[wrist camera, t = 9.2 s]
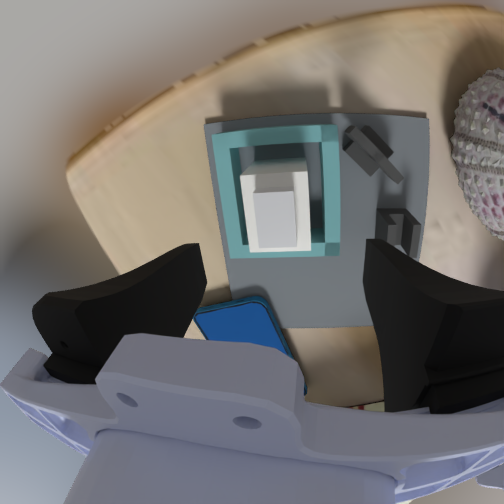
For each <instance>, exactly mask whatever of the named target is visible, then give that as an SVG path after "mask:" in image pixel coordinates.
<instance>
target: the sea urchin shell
mask: <svg viewBox="0 0 504 504" xmlns="http://www.w3.org/2000/svg"><path fill="white" fill-rule="evenodd" d="M461 96H462V98H461V99H459V107H458V108H457V109H456V110H455V114H456V118H455V120H454V121H453V122H454V125H455V133H454V135H453V136H452V137H451V139H450V140H451V142H452V144H453V147H454V149H453V152H452V155H451V156H452V157H453V159H454V160H455V161H456V165H457V169H456V172H455V173H456V175H457V176H458V179H459V184H458V185H459V186H460V188H461V189H462V190H463V192H464V198H465V199H466V202H467V203H468V204H469V207H470V208H471V209H472V212H473V214H475V215H476V216H477V217H478V219H481V221H482V224H484V225H486V230H489V231H490V232H491V234H492V236H497V237H498V238H499V239H502V240H503V241H504V70H501V69H500V68H499V67H498V68H497V69H496V70H495V69H494V70H493V71H492V70H488V69H487V71H486V73H485V74H483V76H482V78H480V77H479V78H478V79H477V81H473V82H472V84H468V91H466V92H465V94H463V95H461Z"/></svg>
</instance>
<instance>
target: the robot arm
mask: <svg viewBox="0 0 504 504" xmlns="http://www.w3.org/2000/svg"><path fill="white" fill-rule="evenodd" d="M362 281H363V287H364V293H365V299H366V302H367V306H368V309H369V312H370V316H371V319H372V322H373V326H374V329H375V332H376V336H377V340H378V344H379V349H380V356H381V364H382V374H383V385H384V412H378V411H368V410H359V409H351V408H343V407H336V406H330V405H323V404H317V403H312V402H306V401H305V398H304V376H303V374H302V372H301V369H300V367H299V364H298V362H296V361H295V360H293V359H292V358H290V357H288V356H287V355H285V354H284V353H282V352H281V351H279V350H278V349H276V348H272V347H267V346H262V345H258V344H253V343H246V342H227V341H212V340H200V339H188V338H183V337H184V335H185V333H186V331H187V329H188V327H189V325H190V323H191V321H192V319H193V317H194V315H195V313H196V311H197V309H198V307H199V305H200V303H201V301H202V298H203V295H204V292H205V288H206V285H207V279H206V275H205V270H204V265H203V261H202V256H201V251H200V246H199V243H191V244H184V245H181V246H179V247H177V248H175V249H173V250H171V251H169V252H167V253H165V254H163V255H161V256H159V257H157V258H156V259H154V260H152V261H150V262H148V263H146V264H144V265H142V266H140V267H138V268H136V269H134V270H132V271H129V272H127V273H125V274H122V275H120V276H117V277H115V278H112V279H109V280H106V281H103V282H100V283H97V284H93V285H89V286H85V287H81V288H76V289H71V290H65V291H58V292H50V293H47V294H45V295H44V296H43V297H42V298H41V299H40V300H39V301H38V302H37V303H36V304H35V305H34V306H33V309H32V314H33V320H34V322H35V325H36V327H37V329H38V331H39V332H40V334H41V335H42V337H43V339H44V341H45V342H46V344H47V345H48V347H49V348H50V350H51V351H52V354H51V356H50V357H49V358H48V357H47V356H46V355H45V354H43V353H41V352H39V351H36V350H34V349H32V348H29V349H28V350H27V351H26V353H25V354H24V355H23V356H22V357H21V359H20V360H19V361H18V362H17V364H16V365H15V366H14V367H13V368H12V370H11V371H10V372H9V374H8V375H7V376H6V377H5V379H4V380H3V381H2V383H1V384H0V387H1V388H2V390H3V391H4V392H5V393H6V394H7V395H8V397H9V398H10V399H11V400H12V401H13V402H14V403H15V404H16V405H17V406H18V408H20V409H21V411H22V412H23V413H24V414H25V415H26V416H27V417H28V418H29V419H30V420H31V421H32V422H33V423H34V424H36V425H38V426H39V427H41V428H42V429H43V430H45V431H47V432H48V433H49V434H51V435H52V436H54V437H55V438H57V439H59V440H60V441H62V442H63V443H65V444H66V445H68V446H69V447H71V448H73V449H74V450H76V451H78V452H79V453H81V454H83V455H84V456H86V459H85V461H84V463H83V465H82V467H81V469H80V471H79V473H78V475H77V477H76V479H75V481H74V483H73V485H72V487H71V489H70V491H69V493H68V496H67V498H66V500H65V502H64V504H397V503H401V502H405V501H409V500H412V499H416V498H419V497H422V496H426V495H428V494H432V493H435V492H438V491H441V490H443V489H446V488H449V487H451V486H454V485H456V484H459V483H461V482H464V481H466V480H469V479H471V478H473V477H475V479H476V482H477V484H478V485H480V486H483V487H489V488H498V489H503V490H504V291H498V290H492V289H487V288H482V287H479V286H475V285H471V284H468V283H464V282H461V281H459V280H456V279H453V278H450V277H448V276H445V275H443V274H441V273H439V272H437V271H435V270H432V269H430V268H428V267H427V266H425V265H423V264H421V263H419V262H418V261H416V260H414V259H413V258H411V257H409V256H408V255H406V254H405V253H403V252H402V251H400V250H398V249H397V248H395V247H394V246H392V245H391V244H389V243H388V242H386V241H384V240H382V239H366V248H365V260H364V270H363V280H362ZM502 463H503V464H502ZM500 464H502V465H500Z"/></svg>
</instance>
